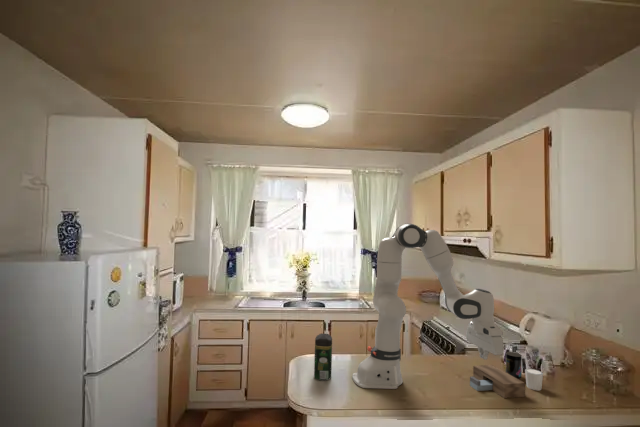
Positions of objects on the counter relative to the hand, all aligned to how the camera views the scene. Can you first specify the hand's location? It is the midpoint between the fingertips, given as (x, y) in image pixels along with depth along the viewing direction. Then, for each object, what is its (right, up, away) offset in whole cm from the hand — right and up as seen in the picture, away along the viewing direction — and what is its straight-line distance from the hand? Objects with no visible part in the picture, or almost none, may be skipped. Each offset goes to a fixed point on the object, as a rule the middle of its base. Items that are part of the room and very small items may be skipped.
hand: (483, 358), depth 153 cm
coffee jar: (-71, -11, +5) cm, 72 cm away
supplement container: (+20, -14, +13) cm, 28 cm away
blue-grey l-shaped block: (+1, -13, 0) cm, 13 cm away
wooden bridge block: (+7, -13, +1) cm, 15 cm away
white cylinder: (+23, -14, +1) cm, 27 cm away
